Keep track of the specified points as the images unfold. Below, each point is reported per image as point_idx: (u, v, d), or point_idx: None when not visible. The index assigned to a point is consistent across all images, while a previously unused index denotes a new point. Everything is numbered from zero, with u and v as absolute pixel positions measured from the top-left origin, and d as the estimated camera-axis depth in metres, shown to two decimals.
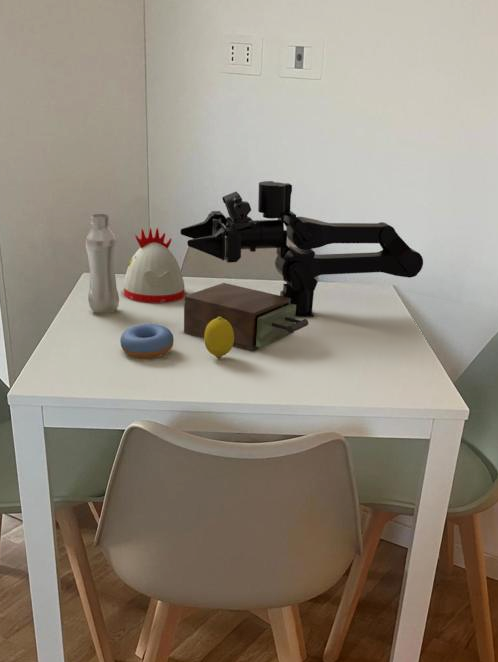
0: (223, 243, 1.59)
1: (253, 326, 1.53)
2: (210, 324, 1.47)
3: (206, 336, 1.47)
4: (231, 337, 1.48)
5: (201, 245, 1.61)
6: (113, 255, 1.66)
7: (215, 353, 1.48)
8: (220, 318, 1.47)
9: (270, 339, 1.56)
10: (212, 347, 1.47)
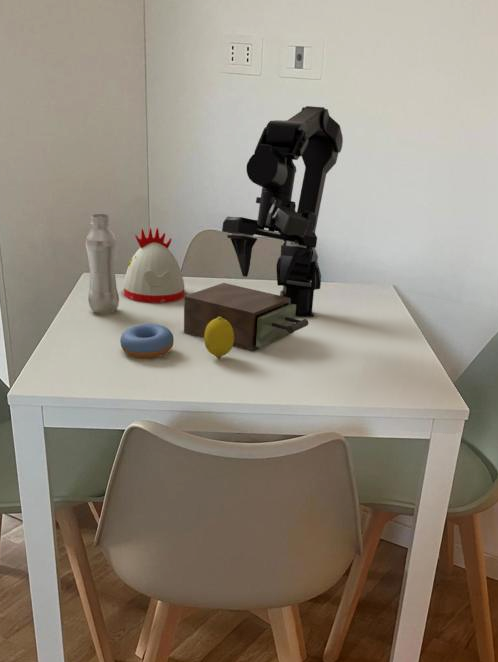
0: None
1: (253, 326, 1.53)
2: (210, 324, 1.47)
3: (206, 336, 1.47)
4: (231, 337, 1.48)
5: None
6: (113, 255, 1.66)
7: (215, 353, 1.48)
8: (220, 318, 1.47)
9: (270, 339, 1.56)
10: (212, 347, 1.47)
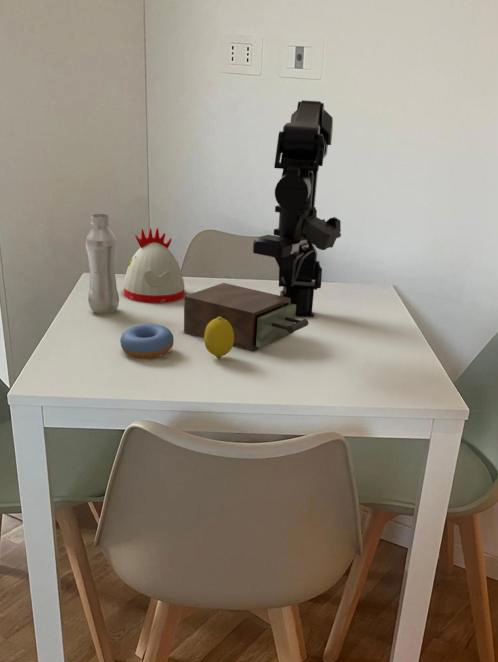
0: None
1: (253, 326, 1.53)
2: (210, 324, 1.47)
3: (206, 336, 1.47)
4: (231, 337, 1.48)
5: None
6: (113, 255, 1.66)
7: (215, 353, 1.48)
8: (220, 318, 1.47)
9: (270, 339, 1.56)
10: (212, 347, 1.47)
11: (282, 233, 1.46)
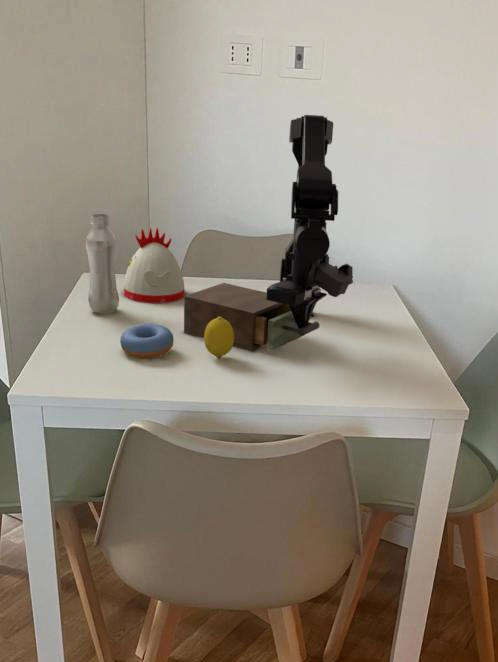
0: None
1: (253, 326, 1.53)
2: (210, 324, 1.47)
3: (206, 336, 1.47)
4: (231, 337, 1.48)
5: None
6: (113, 255, 1.66)
7: (215, 353, 1.48)
8: (220, 318, 1.47)
9: (281, 342, 1.55)
10: (212, 347, 1.47)
11: (295, 279, 1.49)
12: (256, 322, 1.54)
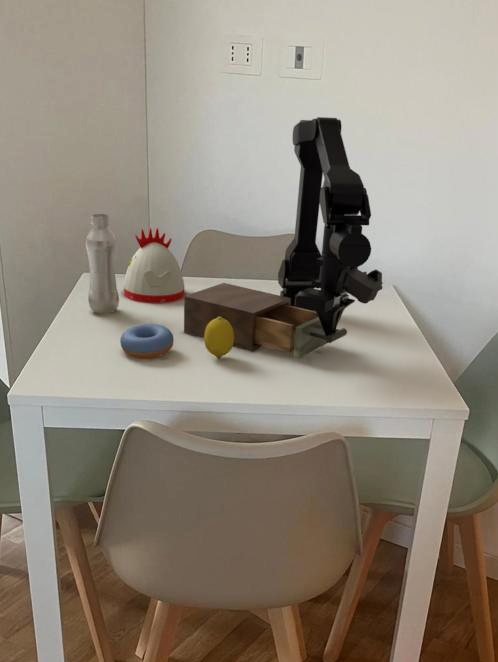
0: None
1: (253, 326, 1.53)
2: (210, 324, 1.47)
3: (206, 336, 1.47)
4: (231, 337, 1.48)
5: None
6: (113, 255, 1.66)
7: (215, 353, 1.48)
8: (220, 318, 1.47)
9: (308, 349, 1.52)
10: (212, 347, 1.47)
11: (323, 286, 1.46)
12: (282, 329, 1.51)
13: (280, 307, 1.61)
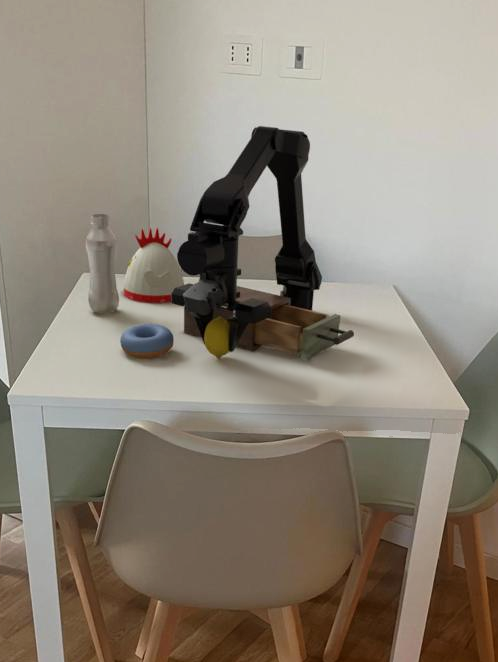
0: None
1: (253, 326, 1.53)
2: (210, 324, 1.47)
3: (206, 336, 1.47)
4: None
5: (237, 338, 1.47)
6: (113, 255, 1.66)
7: (215, 353, 1.48)
8: (220, 318, 1.47)
9: (315, 351, 1.52)
10: (212, 347, 1.47)
11: None
12: (289, 330, 1.50)
13: (286, 309, 1.61)
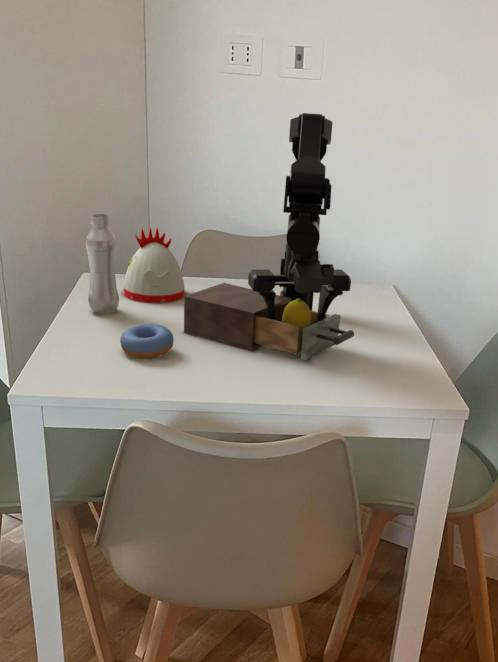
0: None
1: (253, 326, 1.53)
2: (295, 307, 1.52)
3: (294, 319, 1.52)
4: None
5: None
6: (113, 255, 1.66)
7: (301, 334, 1.55)
8: None
9: (315, 351, 1.52)
10: (302, 328, 1.53)
11: (285, 271, 1.51)
12: (289, 330, 1.50)
13: None
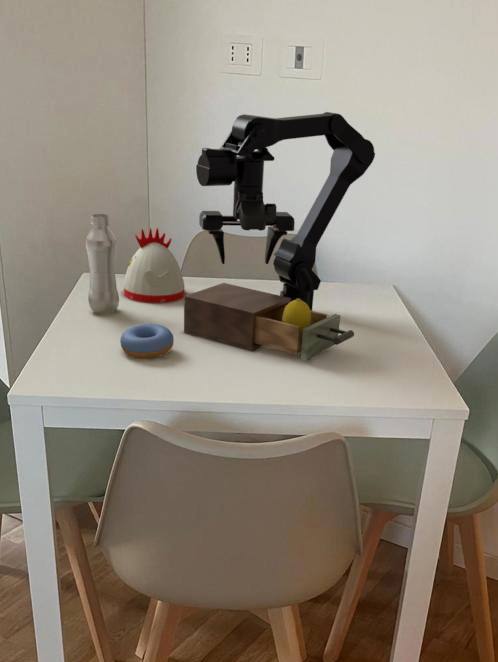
0: None
1: (253, 326, 1.53)
2: (295, 307, 1.52)
3: (294, 319, 1.52)
4: None
5: None
6: (113, 255, 1.66)
7: (301, 334, 1.55)
8: None
9: (315, 351, 1.52)
10: (302, 328, 1.53)
11: (233, 212, 1.62)
12: (289, 330, 1.50)
13: None
